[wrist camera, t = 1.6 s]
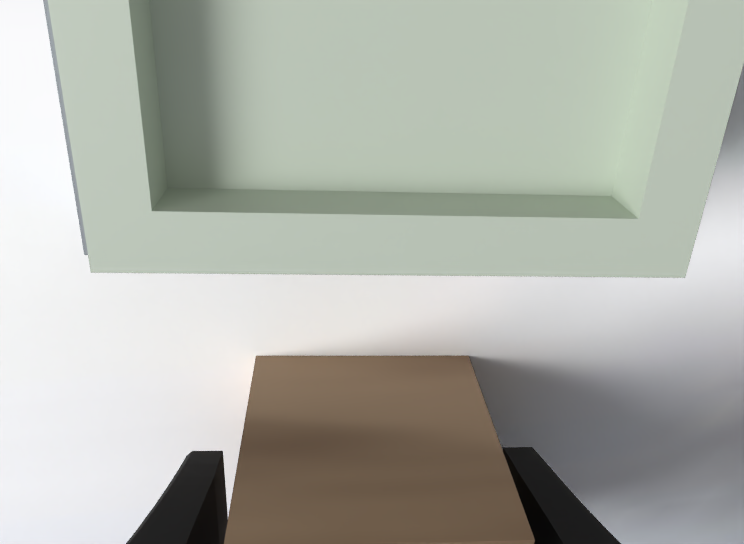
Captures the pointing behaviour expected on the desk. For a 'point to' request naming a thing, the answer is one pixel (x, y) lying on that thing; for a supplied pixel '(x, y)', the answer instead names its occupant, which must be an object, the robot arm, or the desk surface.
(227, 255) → the socket base
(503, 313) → the desk surface
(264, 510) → the walnut block
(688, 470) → the desk surface
